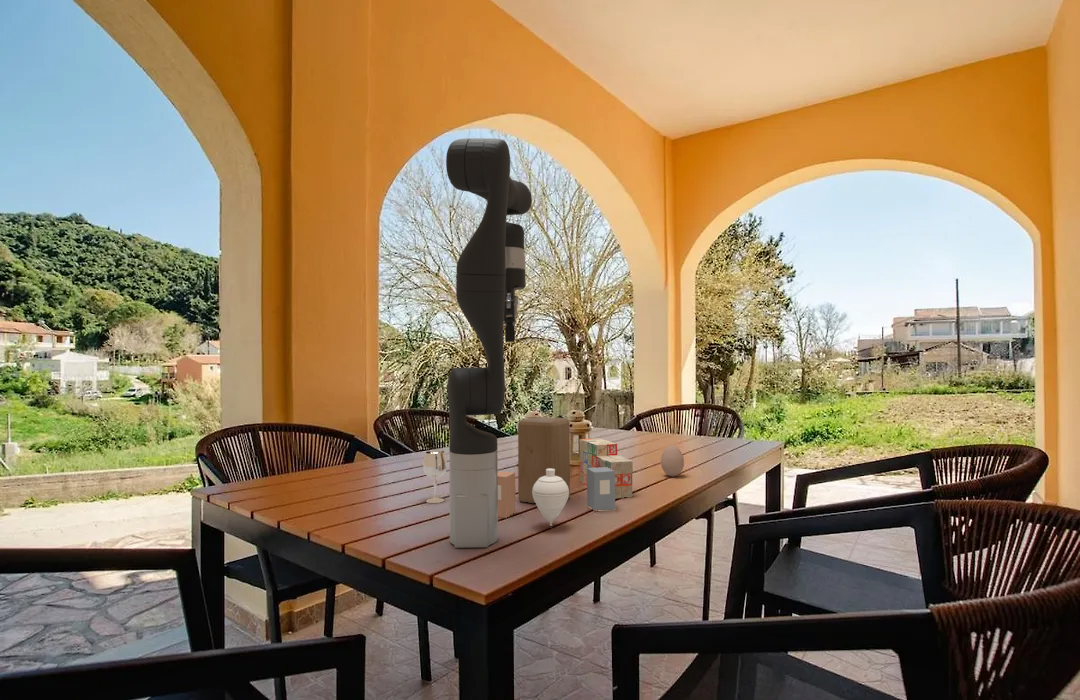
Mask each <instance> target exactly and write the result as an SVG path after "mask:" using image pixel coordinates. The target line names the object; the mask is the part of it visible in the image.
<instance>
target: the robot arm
mask: <svg viewBox="0 0 1080 700" xmlns="http://www.w3.org/2000/svg"><path fill="white" fill-rule="evenodd" d="M510 153H511V152H510V149H509V145H508V143H507V141H506V140H504V139H501V138H477V137H475V138H460V139H455V140H454V141H452V142H451V143H450V144H449V146H448V148H447V151H446V155H445V156H446V157H445V158H446V159H445V168H446V173H447V177H448V180H449V182H450V184H451V186H453V188H455V189H456V190H459V191H463V192H469V193H471V194H474V195H476V196H479V197H481V198H482V199H484V200H486V202H487V203H486V207H485V210H484V213H483V217H482V218H481V221H480V223H479V225H478V226H477V229H476V230H475V232H474V233H473V235H472V236H471V238H470V239H469V240H468V242H467V244H466V245H465V246H464V248H463V251H461V254H460V255H459V257H458V260H457V262H456V270H455V271H456V275H455V278H456V279H455V280H456V282H455V289H456V291H455V293H456V294H455V296H456V301H457V304H458V306H459V308H460V310H461V312H462V314H463V315H464V317H465V318H466V319H467V321H468V323H469V325H470V326H471V328H472V329H473V331H474V332H475V334H476V335H477V338H478V340H479V342H480V343H481V345H482V348H483V350H484V353H485V356H486V363H487V364H486V365H487V366H486V367H485V366H484V367H455V368H454V367H453V369H451V371H450V372H449V374H448V378H447V399H448V414H449V415H448V416H449V420H448V421H449V467H448V468H449V470H448V471H449V542H450V543H451V544H452V545H453V546H454V548H456V549H457V548H488V547H490V546H491V545H492V544H495V543H496V542H497V541H498V540H499V517H498V479H497V471H498V437H497V436H496V435H495V434H493V433H491V432H487V431H484V430H483V429H482V430H481V429H479V428H477V427H474V426H473V425H471V424H470V423H469V422H468V421H467V416H489V415H490V416H491V415H498V414H500V413H501V412H502V411H503V408H504V405H505V399H506V397H505V395H506V394H505V393H506V389H505V388H506V382H505V381H506V377H505V355H504V353H505V352H504V351H505V350H504V339H505V342H507V343H514V342H516V329H515V328H516V325H517V318H516V317H517V316H518V305H519V296H518V295H516V291H517V290H518V291H520V290H524V289H525V288H526V283H527V281H526V255H525V229H524V227H523V226H522V225H521V224H518V223H512V222H509V221H507V216H515V215H516V216H521V215H525V214H527V213H529V211H530V209H531V208H532V204H533V197H532V193H531V190H530V188H529V187H528V185H526V184H525V183H523V182H521V181H518V180H514V179H512V177H511V154H510ZM504 327H505V328H504ZM504 331H505V332H504Z"/></svg>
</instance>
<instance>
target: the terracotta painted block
mask: <svg viewBox="0 0 1080 700" xmlns="http://www.w3.org/2000/svg"><path fill="white" fill-rule="evenodd" d="M497 479H498V518H500V517H502V519H508V518H510V517H511V516H512V515H513V513H514V512H515V513H516V472H512V471H511V472H510V471H500V470H499V471H498V470H497ZM515 513H514V514H515ZM511 514H512V515H511ZM510 515H511V516H510ZM507 517H508V518H507Z"/></svg>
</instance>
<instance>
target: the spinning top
mask: <svg viewBox="0 0 1080 700" xmlns="http://www.w3.org/2000/svg"><path fill="white" fill-rule="evenodd" d="M532 495H533V499H534V501H535V503H536V504H535V505H536V507H537V508H538V509H539V511H540V513H541V514H542V516H543V517H544V519H546V521H547V523H549V527H550V526H552V527H553V522H555V520H556V519H557V518H558V516H559V515H560V514H561V512H562V511H563V509H564V507H565V506H566V504H567V501H568V499H569V498H570V496H569V488H568V486H567V484H566V483H565V481H564V480H563V479H562V478H561V477H558V476H555V469H552V468H549V469H546V476H543V477H541V478H539V479H538V480H537V481H536V483H535V484H534V486H533V489H532ZM568 497H569V498H568Z"/></svg>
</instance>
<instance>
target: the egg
mask: <svg viewBox="0 0 1080 700" xmlns="http://www.w3.org/2000/svg"><path fill="white" fill-rule="evenodd" d="M660 465H661V468H662V471H663V472H664V473H665V474H666V475H667V476H668V477H677V476H679V475H680V474H681V473H682V471H683V469H684V467H685V459H684V455H683V453H682V451H681V450H680V448H679V447H677V446H676V445H672V444H671V445H668V446H667V447H666V448H664V450H663V452H662V453H661V457H660Z"/></svg>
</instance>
